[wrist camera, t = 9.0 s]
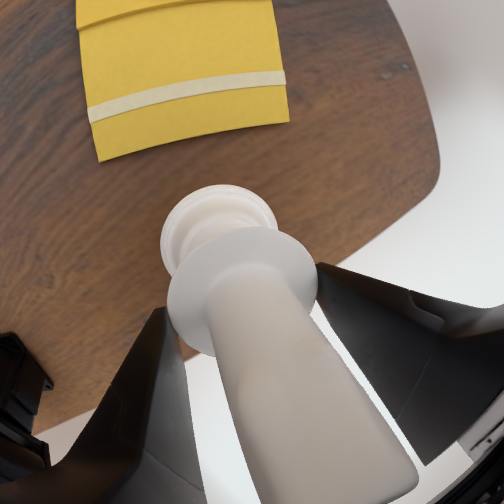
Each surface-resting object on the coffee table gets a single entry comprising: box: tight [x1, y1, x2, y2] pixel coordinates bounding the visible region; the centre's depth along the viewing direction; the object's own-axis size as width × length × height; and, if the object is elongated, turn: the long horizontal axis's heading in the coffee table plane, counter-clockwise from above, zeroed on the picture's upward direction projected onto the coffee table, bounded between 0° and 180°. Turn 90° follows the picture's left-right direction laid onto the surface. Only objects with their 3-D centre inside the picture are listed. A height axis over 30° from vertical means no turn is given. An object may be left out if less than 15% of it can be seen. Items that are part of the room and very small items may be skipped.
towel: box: [76, 0, 290, 162], centre depth 10 cm, size 10×12×1 cm
